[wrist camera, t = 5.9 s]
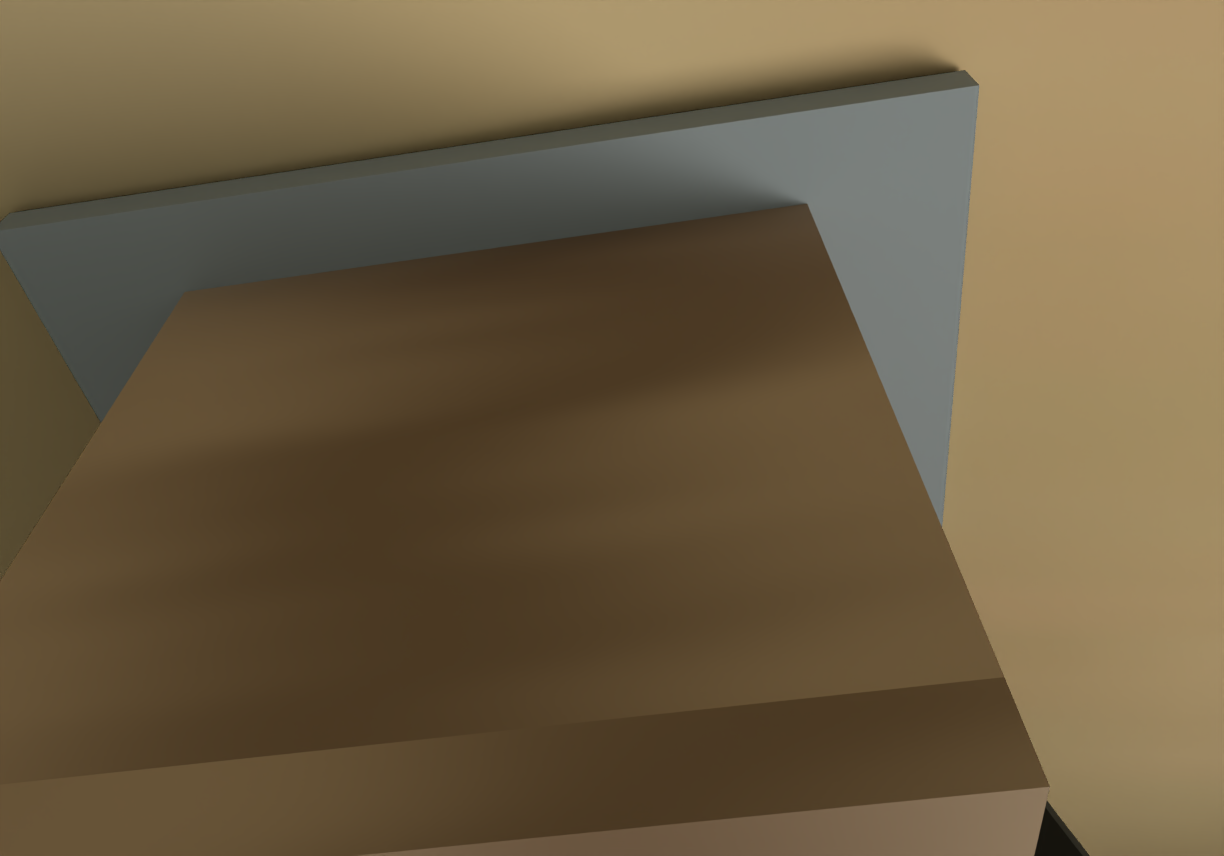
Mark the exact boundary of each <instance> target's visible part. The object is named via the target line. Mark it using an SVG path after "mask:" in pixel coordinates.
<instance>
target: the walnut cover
mask: <svg viewBox="0 0 1224 856" xmlns="http://www.w3.org/2000/svg"><path fill="white" fill-rule="evenodd" d="M1049 788H1050V786H1049V784H1048V781H1047V779H1046V776H1045V774H1044V772H1043V769H1042V767H1041V764H1040V762H1039V760H1038V757H1037V755H1036V752H1035V750H1034V748H1033V745H1032V743H1031V740H1030V738H1029V736H1028V733H1027V731H1026V728H1025V726H1024V723H1023V721H1022V719H1021V716H1020V714H1019V711H1018V709H1017V707H1016V704H1015V702H1014V699H1013V697H1012V695H1011V692H1010V690H1009V687H1008V685H1007V683H1006V680H1005V678H1004V675H1003V673H1002V671H1001V668H1000V666H999V663H998V661H997V659H996V656H995V654H994V651H993V649H992V647H991V644H990V642H989V639H988V637H987V635H986V632H985V630H984V627H983V625H982V623H981V620H980V618H979V615H978V613H977V611H976V608H975V606H974V603H973V601H972V598H971V596H970V594H969V591H968V589H967V586H966V584H965V582H964V579H963V577H962V574H961V572H960V570H959V567H958V565H957V562H956V560H955V558H954V555H953V553H952V550H951V548H950V546H949V543H948V541H947V538H946V536H945V534H944V531H943V529H942V526H941V524H940V522H939V519H938V517H937V514H936V512H935V510H934V507H933V505H932V502H931V500H930V498H929V495H928V493H927V490H926V488H925V486H924V483H923V481H922V478H921V476H920V474H919V471H918V469H917V466H916V464H915V461H914V459H913V457H912V454H911V452H910V449H909V447H908V445H907V442H906V440H905V437H904V435H903V433H902V430H901V428H900V425H899V423H898V421H897V418H896V416H895V413H894V411H893V409H892V406H891V404H890V401H889V399H888V397H887V394H886V392H885V389H884V387H883V385H882V382H881V380H880V377H879V375H878V373H877V370H876V368H875V365H874V363H873V361H872V358H871V356H870V353H869V351H868V349H867V346H866V344H865V341H864V339H863V337H862V334H861V332H860V329H859V327H858V324H857V322H856V320H855V317H854V315H853V312H852V310H851V308H850V305H849V303H848V300H847V298H846V296H845V293H844V291H843V288H842V286H841V284H840V281H839V279H838V276H837V274H836V272H835V269H834V267H833V264H832V262H831V260H830V257H829V255H828V252H827V250H826V248H825V245H824V243H823V240H822V238H821V236H820V233H819V231H818V228H817V226H816V224H815V221H814V219H813V216H812V214H811V212H810V209H809V207H808V204H801V205H794V206H787V207H780V208H773V209H766V210H759V211H752V212H745V213H738V214H731V215H724V216H717V217H710V218H703V219H696V220H688V221H681V222H674V223H667V224H660V225H653V226H646V227H639V228H632V229H625V230H618V231H611V232H604V233H597V234H590V235H583V236H576V237H569V238H562V239H554V240H547V241H540V242H533V243H526V244H519V245H512V246H505V247H498V248H491V249H484V250H477V251H470V252H463V253H456V254H449V255H442V256H435V257H428V258H421V259H413V260H406V261H399V262H392V263H385V264H378V265H371V266H364V267H357V268H350V269H343V270H336V271H329V272H322V273H315V274H308V275H301V276H294V277H287V278H279V279H272V280H265V281H258V282H251V283H244V284H237V285H230V286H223V287H216V288H209V289H202V290H195V291H188V292H184V294H183V295H182V297H181V298H180V300H179V302H178V303H177V305H176V306H175V308H174V309H173V311H172V313H171V314H170V316H169V317H168V319H167V320H166V322H165V324H164V325H163V327H162V328H161V330H160V331H159V333H158V334H157V336H156V338H155V339H154V341H153V342H152V344H151V345H150V347H149V349H148V350H147V352H146V353H145V355H144V356H143V358H142V360H141V361H140V363H139V364H138V366H137V367H136V369H135V371H134V372H133V374H132V375H131V377H130V378H129V380H128V381H127V383H126V385H125V386H124V388H123V389H122V391H121V392H120V394H119V396H118V397H117V399H116V400H115V402H114V403H113V405H112V407H111V408H110V410H109V411H108V413H107V414H106V416H105V418H104V419H103V421H102V422H101V424H100V425H99V427H98V428H97V430H96V432H95V433H94V435H93V436H92V438H91V439H90V441H89V443H88V444H87V446H86V447H85V449H84V450H83V452H82V454H81V455H80V457H79V458H78V460H77V461H76V463H75V465H74V466H73V468H72V469H71V471H70V472H69V474H68V475H67V477H66V479H65V480H64V482H63V483H62V485H61V486H60V488H59V490H58V491H57V493H56V494H55V496H54V497H53V499H52V501H51V502H50V504H49V505H48V507H47V508H46V510H45V512H44V513H43V515H42V516H41V518H40V519H39V521H38V523H37V524H36V526H35V527H34V529H33V530H32V532H31V533H30V535H29V537H28V538H27V540H26V541H25V543H24V544H23V546H22V548H21V549H20V551H19V552H18V554H17V555H16V557H15V559H14V560H13V562H12V563H11V565H10V566H9V568H8V570H7V571H6V573H5V574H4V576H3V577H2V579H1V580H0V856H1034V854H1035V850H1036V846H1037V841H1038V837H1039V832H1040V828H1041V824H1042V819H1043V815H1044V810H1045V806H1046V802H1047V797H1048V793H1049Z"/></svg>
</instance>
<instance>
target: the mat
mask: <svg viewBox="0 0 1224 856" xmlns="http://www.w3.org/2000/svg"><path fill="white" fill-rule="evenodd" d="M978 94H979V84H978V83H977V82H976V81H975V80H974V79H973V78H972V77H971V76H970V75H969V74H968V73H967V72H966V71H965V70H963V71H956V72H950V73H943V74H936V75H930V76H923V77H916V78H909V79H903V80H896V81H889V82H883V83H876V84H869V85H863V86H856V87H849V88H843V89H836V90H829V91H823V92H816V93H809V94H803V95H796V96H789V97H783V98H776V99H769V100H762V101H756V102H749V103H742V104H736V105H729V106H722V107H716V108H709V109H702V110H696V111H689V112H682V113H676V114H669V115H662V116H656V117H649V118H642V119H635V120H629V121H622V122H615V123H609V124H602V125H595V126H589V127H582V128H575V129H569V130H562V131H555V132H549V133H542V134H535V135H529V136H522V137H515V138H509V139H502V140H495V141H488V142H482V143H475V144H468V145H462V146H455V147H448V148H442V149H435V150H428V151H422V152H415V153H408V154H402V155H395V156H388V157H382V158H375V159H368V160H361V161H355V162H348V163H341V164H335V165H328V166H321V167H315V168H308V169H301V170H295V171H288V172H281V173H275V174H268V175H261V176H255V177H248V178H241V179H235V180H228V181H221V182H214V183H208V184H201V185H194V186H188V187H181V188H174V189H168V190H161V191H154V192H148V193H141V194H134V195H128V196H121V197H114V198H108V199H101V200H94V201H87V202H81V203H74V204H67V205H61V206H54V207H47V208H41V209H34V210H27V211H21V212H14V213H9V214H8V215H7V216H6V217H5V218H4V219H3V220H2V221H1V222H0V251H1V252H2V254H3V256H4V257H5V259H6V261H7V263H8V264H9V266H10V268H11V269H12V271H13V273H14V275H15V276H16V278H17V280H18V281H19V283H20V285H21V287H22V288H23V290H24V292H25V293H26V295H27V297H28V299H29V300H30V302H31V304H32V305H33V307H34V309H35V311H36V312H37V314H38V316H39V318H40V319H41V321H42V323H43V324H44V326H45V328H46V330H47V331H48V333H49V335H50V336H51V338H52V340H53V342H54V343H55V345H56V347H57V348H58V350H59V352H60V354H61V355H62V357H63V359H64V360H65V362H66V364H67V366H68V367H69V369H70V371H71V372H72V374H73V376H74V378H75V379H76V381H77V383H78V384H79V386H80V388H81V390H82V391H83V393H84V395H85V396H86V398H87V400H88V402H89V403H90V405H91V407H92V408H93V410H94V412H95V414H96V415H97V417H98V419H99V420H100V422H102V421H103V419H104V418H105V416H106V414H107V413H108V411H109V410H110V408H111V407H112V405H113V403H114V402H115V400H116V399H117V397H118V396H119V394H120V392H121V391H122V389H123V388H124V386H125V385H126V383H127V381H128V380H129V378H130V377H131V375H132V374H133V372H134V371H135V369H136V367H137V366H138V364H139V363H140V361H141V360H142V358H143V356H144V355H145V353H146V352H147V350H148V349H149V347H150V345H151V344H152V342H153V341H154V339H155V338H156V336H157V334H158V333H159V331H160V330H161V328H162V327H163V325H164V324H165V322H166V320H167V319H168V317H169V316H170V314H171V313H172V311H173V309H174V308H175V306H176V305H177V303H178V302H179V300H180V298H181V297H182V295H183V294H184V292H188V291H195V290H202V289H209V288H216V287H223V286H230V285H237V284H244V283H251V282H258V281H265V280H272V279H279V278H287V277H294V276H301V275H308V274H315V273H322V272H329V271H336V270H343V269H350V268H357V267H364V266H371V265H378V264H385V263H392V262H399V261H406V260H413V259H421V258H428V257H435V256H442V255H449V254H456V253H463V252H470V251H477V250H484V249H491V248H498V247H505V246H512V245H519V244H526V243H533V242H540V241H547V240H554V239H562V238H569V237H576V236H583V235H590V234H597V233H604V232H611V231H618V230H625V229H632V228H639V227H646V226H653V225H660V224H667V223H674V222H681V221H688V220H696V219H703V218H710V217H717V216H724V215H731V214H738V213H745V212H752V211H759V210H766V209H773V208H780V207H787V206H794V205H801V204H808V207H809V209H810V212H811V214H812V216H813V219H814V221H815V224H816V226H817V228H818V231H819V233H820V236H821V238H822V240H823V243H824V245H825V248H826V250H827V252H828V255H829V257H830V260H831V262H832V264H833V267H834V269H835V272H836V274H837V276H838V279H839V281H840V284H841V286H842V288H843V291H844V293H845V296H846V298H847V300H848V303H849V305H850V308H851V310H852V312H853V315H854V317H855V320H856V322H857V324H858V327H859V329H860V332H861V334H862V337H863V339H864V341H865V344H866V346H867V349H868V351H869V353H870V356H871V358H872V361H873V363H874V365H875V368H876V370H877V373H878V375H879V377H880V380H881V382H882V385H883V387H884V389H885V392H886V394H887V397H888V399H889V401H890V404H891V406H892V409H893V411H894V413H895V416H896V418H897V421H898V423H899V425H900V428H901V430H902V433H903V435H904V437H905V440H906V442H907V445H908V447H909V449H910V452H911V454H912V457H913V459H914V461H915V464H916V466H917V469H918V471H919V474H920V476H921V478H922V481H923V483H924V486H925V488H926V490H927V493H928V495H929V498H930V500H931V502H932V505H933V507H934V510H935V512H936V514H937V517H938V519H939V522H940V524H941V526H942V522H943V510H944V498H945V486H946V474H947V462H948V450H949V438H950V427H951V415H952V403H953V391H954V379H955V367H956V355H957V343H958V331H959V320H960V308H961V296H962V284H963V272H964V260H965V248H966V236H967V225H968V213H969V201H970V189H971V177H972V165H973V153H974V141H975V129H976V118H977V106H978Z"/></svg>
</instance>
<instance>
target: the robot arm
mask: <svg viewBox="0 0 1224 856" xmlns="http://www.w3.org/2000/svg"><path fill="white" fill-rule="evenodd" d="M1034 856H1089V854H1088V853H1087V852H1086V850H1085V849H1084V848H1083V847H1082V845H1081V844H1080V843H1079V842H1078V840H1077V839H1076V838H1075V836H1074V835H1073V834H1072V833H1071V831H1070V830H1069V829H1068V827H1067V826H1066V825H1065V824H1064V822H1063V821H1062V820H1061V819H1060V817H1059V816H1058V815H1057V813H1056V812H1055V811H1054V809H1053V808H1052V807H1051V805H1050V804H1049V803H1048V801H1047V802H1046V806H1045V810H1044V815H1043V819H1042V824H1041V828H1040V832H1039V837H1038V841H1037V846H1036V850H1035V854H1034Z"/></svg>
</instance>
